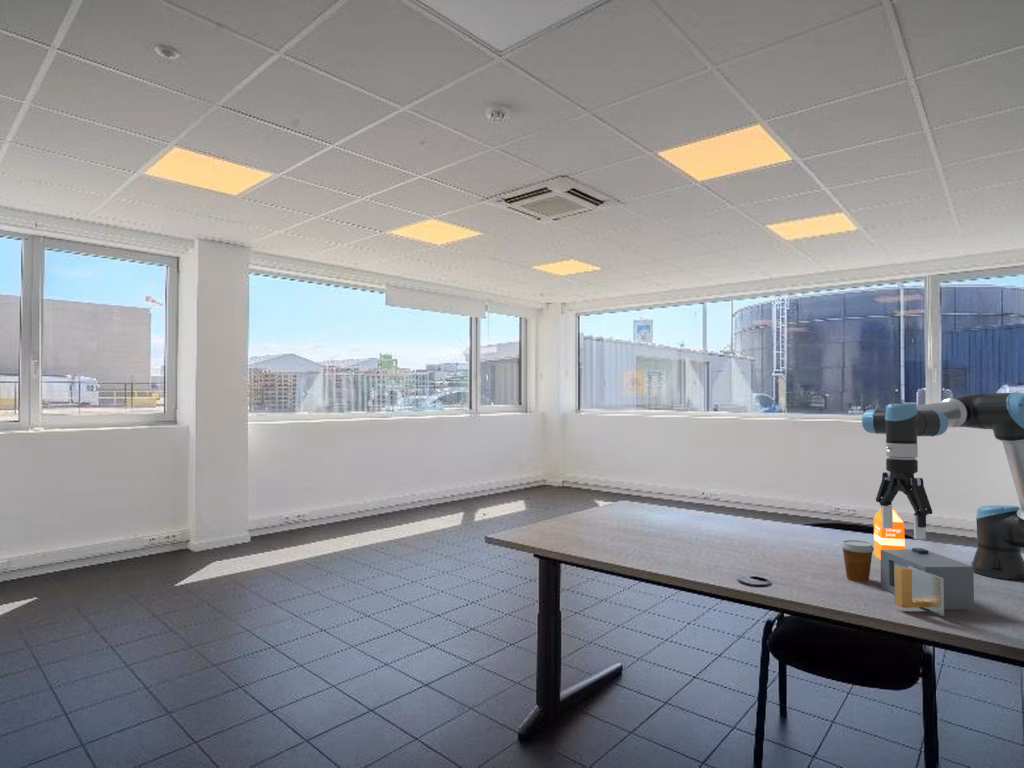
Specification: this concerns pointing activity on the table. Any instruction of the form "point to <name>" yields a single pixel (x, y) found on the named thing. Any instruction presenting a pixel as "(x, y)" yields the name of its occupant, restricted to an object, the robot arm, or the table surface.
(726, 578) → the table surface
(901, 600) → the side cover
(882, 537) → the orange juice
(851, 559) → the disposable coffee cup
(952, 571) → the open-sided grey enclosure
